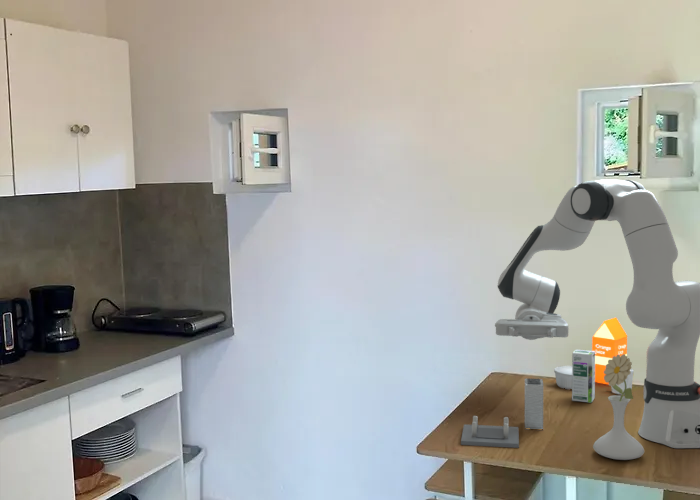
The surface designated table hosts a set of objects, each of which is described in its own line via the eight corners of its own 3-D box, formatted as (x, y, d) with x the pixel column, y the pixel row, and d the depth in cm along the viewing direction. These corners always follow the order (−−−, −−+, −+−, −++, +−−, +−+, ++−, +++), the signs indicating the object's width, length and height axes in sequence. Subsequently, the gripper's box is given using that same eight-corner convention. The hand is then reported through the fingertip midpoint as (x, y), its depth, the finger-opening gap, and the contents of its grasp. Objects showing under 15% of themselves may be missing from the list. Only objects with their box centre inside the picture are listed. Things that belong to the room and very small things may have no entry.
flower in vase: (587, 447, 188) (588, 346, 186) (635, 447, 187) (637, 345, 185) (601, 467, 175) (603, 358, 173) (653, 467, 174) (655, 358, 172)
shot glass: (630, 396, 230) (631, 373, 230) (607, 393, 234) (607, 370, 233) (635, 390, 236) (635, 368, 235) (612, 387, 240) (612, 365, 239)
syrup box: (571, 401, 226) (571, 352, 225) (575, 395, 232) (576, 348, 230) (591, 403, 224) (592, 354, 222) (595, 398, 229) (595, 350, 228)
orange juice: (591, 381, 248) (591, 319, 246) (604, 376, 254) (605, 316, 252) (614, 385, 242) (615, 322, 240) (627, 380, 248) (628, 318, 247)
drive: (542, 423, 207) (542, 378, 206) (543, 430, 201) (543, 384, 200) (524, 422, 208) (524, 377, 207) (525, 429, 202) (525, 383, 201)
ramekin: (586, 392, 235) (586, 375, 235) (549, 388, 241) (549, 371, 240) (594, 384, 245) (594, 367, 244) (559, 380, 250) (559, 364, 250)
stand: (518, 430, 201) (518, 413, 200) (518, 447, 188) (518, 429, 188) (464, 428, 204) (464, 411, 203) (460, 444, 191) (460, 427, 191)
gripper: (495, 312, 229) (494, 321, 216) (566, 314, 225) (570, 323, 212) (494, 333, 230) (494, 344, 216) (566, 335, 226) (569, 346, 212)
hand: (532, 334), depth 214 cm, fingers open, 8 cm apart
